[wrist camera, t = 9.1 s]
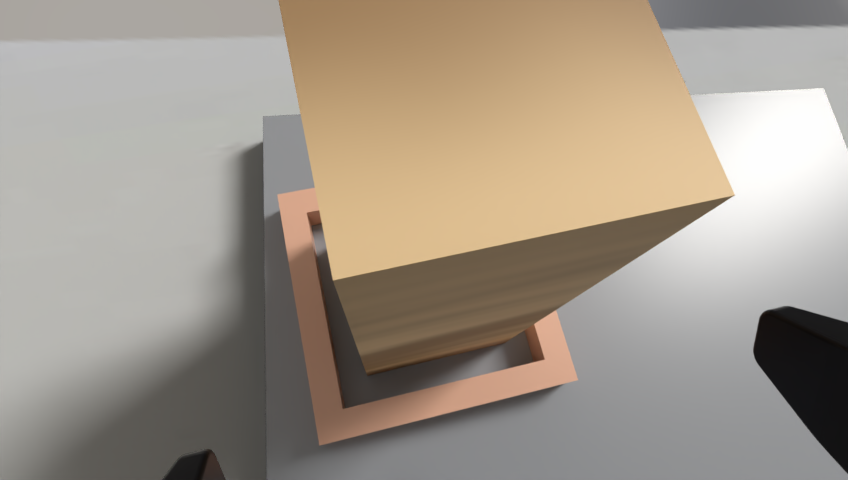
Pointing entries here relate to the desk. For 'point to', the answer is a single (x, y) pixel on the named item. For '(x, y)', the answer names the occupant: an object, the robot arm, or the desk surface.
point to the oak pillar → (489, 159)
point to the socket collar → (410, 407)
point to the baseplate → (605, 333)
